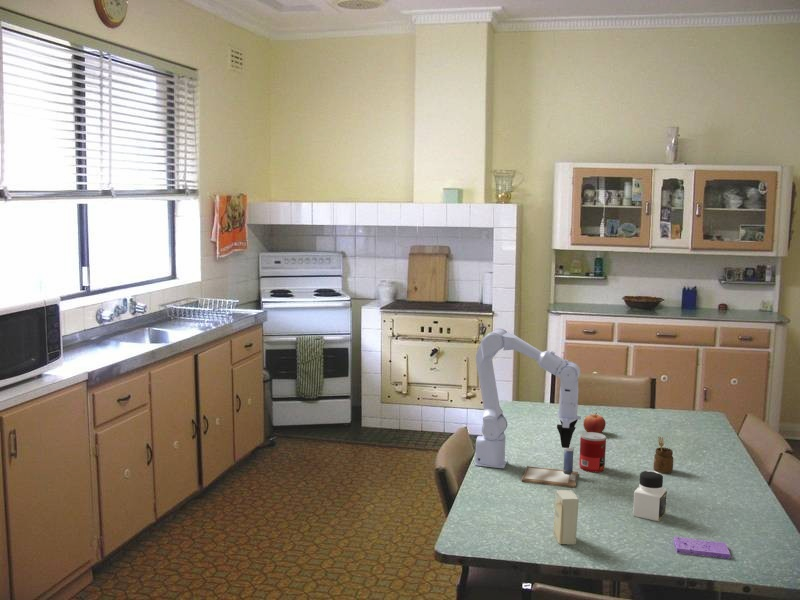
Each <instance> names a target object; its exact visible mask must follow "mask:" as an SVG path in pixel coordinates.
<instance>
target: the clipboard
mask: <svg viewBox="0 0 800 600" xmlns="http://www.w3.org/2000/svg"><path fill="white" fill-rule="evenodd" d="M563 470H564V469H555V468H547V467H546V468H545V467H536V466H528V465H527V466H526V468H525V471H524V473H523V476H522V478H521V482H523V483H529V482H530V483H529V484H531V483H532V484H540V485H546V486H547V485H549V486H556V485H558V486H557V487H564V486H567V487H566V488H573V487H574V488H576V485H577V478H578V475H579V472H578V471H575V470H573V473H571V474H570V475H568V474H564V473H563Z"/></svg>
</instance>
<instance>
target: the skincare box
mask: <svg viewBox="0 0 800 600" xmlns="http://www.w3.org/2000/svg"><path fill="white" fill-rule="evenodd" d="M579 500H580V499H579V497H578V496H577V495H576V494H575V492H574V491H573V490H572V489H556V490H555V502H554V503H555V504H554V515H553V516H554V517H553V519H554V521H553V531H552V535H553V536H554V539H555V540H556V541H557V543H558V545H561V544H567V545H576V544H577V543H576V541H577V529H578V528H577V527H578V518H579V517H578V516H579V515H578V514H579V502H580V501H579ZM561 546H562V545H561Z"/></svg>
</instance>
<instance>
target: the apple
mask: <svg viewBox="0 0 800 600" xmlns="http://www.w3.org/2000/svg"><path fill="white" fill-rule="evenodd" d="M606 426H607V425H606V420H605V418H604V417H603V416H601V415H599V414H597V412H595V413H593V414H589V415H587V416H585V418H584V419H583V428H584V430H585V432H595V433H600V434H603V432H604V430H605V429H606Z"/></svg>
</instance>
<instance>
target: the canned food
mask: <svg viewBox="0 0 800 600" xmlns="http://www.w3.org/2000/svg"><path fill="white" fill-rule="evenodd" d="M579 441H580V442H579V463H578V464H579V465H578V466H579V467H580V469H581V470H582V469H583V471H585V472H588V471H589V473H600V472H604V469H605V467H606V466H605V465H606V452H607V451H606V449H607V448H606V447H607V436H606V435H605V434H603V433H595V432H586V431H585V432H582V433H580V439H579Z"/></svg>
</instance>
